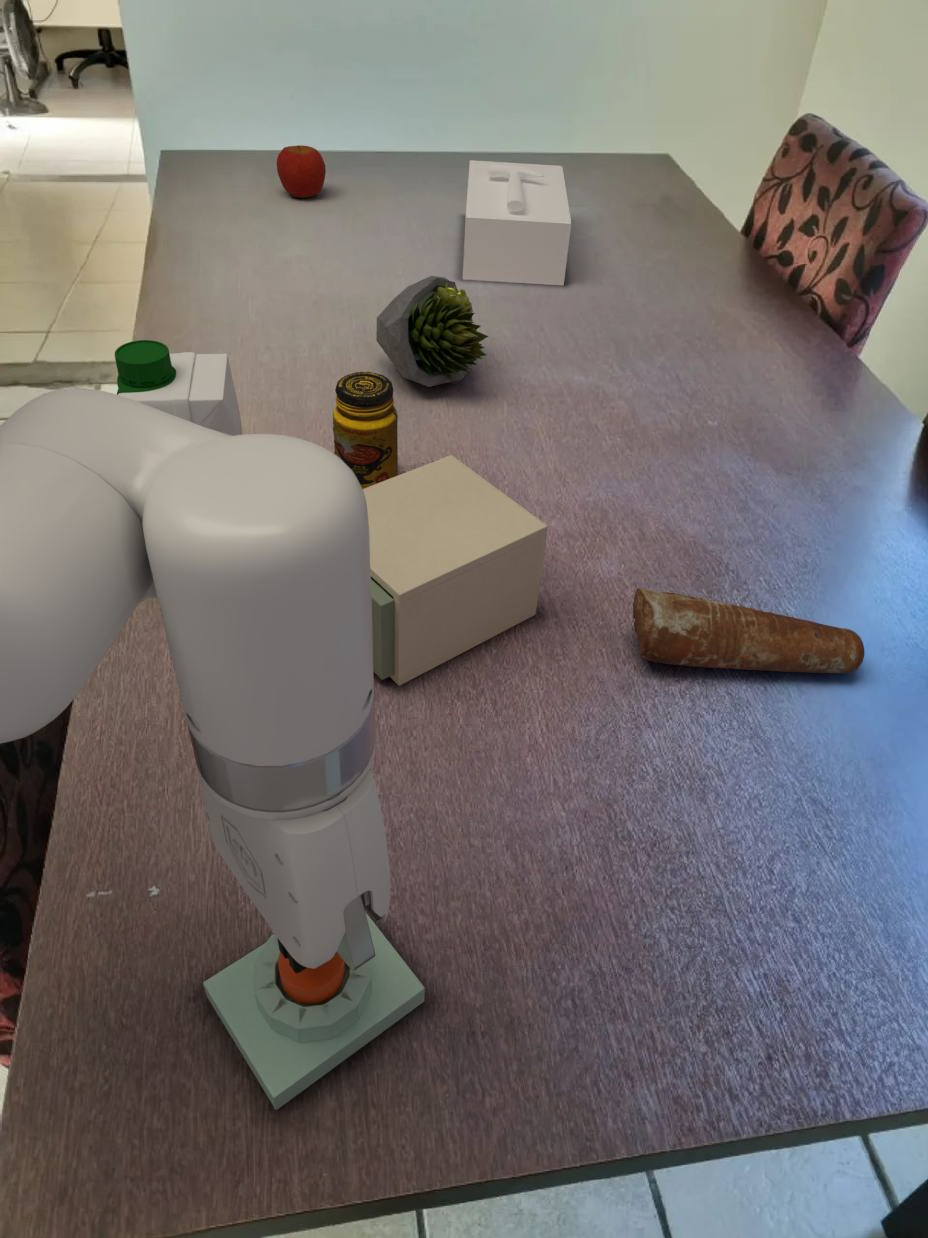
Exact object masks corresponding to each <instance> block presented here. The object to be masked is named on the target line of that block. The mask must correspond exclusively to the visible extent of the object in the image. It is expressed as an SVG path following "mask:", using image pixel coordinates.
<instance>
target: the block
mask: <svg viewBox="0 0 928 1238" xmlns="http://www.w3.org/2000/svg"><path fill="white" fill-rule="evenodd" d="M366 916H367V921H368V925H369V929H370V933H371V938H372V942H373V946H374V950H375V957H374V958H372V959H371V960H369V961H368V962H366V963H365V964H363V965H362V966H361V967H359V968H358V969H356V970H355V971H352V970H351V969H350V968H349V966H348V965H347V964H346V963H345V962H344V965H345V975H344V980H343V982H342V985H341V986H340V988H339V990H338V991H337V992H336V993H335V994H334V995H333V996H332V997H330V998H329V999H327V1000H325V1001H323V1002H320V1003H316V1004H304V1003H300V1002H297V1001H295V1000H293V999H292V998H290V997H289V996H288V995H287V993H286V992H285V991H284V989H283V986H282V983H281V978H280V972H279V966H278V958H279V954H280V950H279V945H278V939H277V936H276V935H275V933H273V934H272V935H271V936H270V937H269V938H268V939H267V941H266V942H264V943H263V944H261V945H260V946H259V947H256V948H255V949H253V950H252V951H251V952H249V953H247V954H246V955H243V956H242V957H240V958H239V959H238V960H236V961H234V962H233V963H232V964H230V965H228V966H227V967H225V968H223V969H222V970H220V971H218V972H217V973H215V974H214V975H213V976H211V977H209V978H208V979H206V980H204V981H203V982H202V985H203V988H204V993H205V995H206V998H207V999H208V1002H210V1004H211V1006H212V1008H213V1009H214V1011H215V1012H216V1014H217V1016H218V1017H219V1019H220V1021H221V1023H222V1024H223V1026H224V1027H225V1029H226V1031H227V1033H228V1034H229V1035H230V1037H231V1040H233V1042H234V1044H235V1045H236V1047H237V1049H238V1050H239V1051H240V1053H241V1056H242V1057H243V1059H244V1060H245V1062H246V1063H247V1066H248V1067H249V1069H250V1070H251V1072H252V1074H253V1075H254V1077H255V1078H256V1080H257V1081H258V1083H259V1085H260V1086H261V1088H262V1090H263V1091H264V1094H265V1095H266V1097H267V1098H268V1099H269V1102H270V1103H271V1105H272V1106H273V1108H274V1110H275V1111H278V1110H279V1109H280V1108H281V1107H283V1106H284V1105H286V1104H287V1103H289V1102H290V1101H291V1100H293V1099H294V1098H295V1097H296V1096H298V1095H299V1094H301V1093H302V1092H304V1090H306V1089H307V1088H309V1087H310V1086H311V1085H313V1084H314V1083H316V1082H317V1081H318V1080H319V1079H321V1078H322V1077H323V1076H325V1075H326V1074H328V1073H329V1072H330V1071H332V1070H333V1069H334V1068H336V1067H337V1066H339V1065H340V1064H341V1063H343V1062H344V1061H345V1060H347V1059H348V1058H349V1057H351V1056H353V1055H354V1054H355V1053H357V1051H359V1050H361V1049H362V1048H363V1047H365V1046H366V1045H367V1044H368V1043H371V1041H373V1040H374V1039H375V1038H377V1037H378V1036H379V1035H381V1034H382V1033H383V1032H384V1031H387V1030H388V1029H389V1028H390V1027H392V1026H393V1025H395V1024H396V1023H397V1022H399V1021H400V1020H401V1019H403V1018H404V1017H405V1016H406V1015H408V1014H409V1013H411V1012H412V1011H414V1010H415V1009H416V1008H417V1007H418V1006H420V1005H422V1004H423V1003H425V996H426V995H425V994H426V993H425V992H426V987H425V986H424V985H423V983H422V982H421V981H420V979H419V978H418V977H417V976H416V975H415V973H414V972H413V971H412V969H411V968H410V967H409V965H408V964H407V963H406V962H405V960H404V958H402V956H401V955H400V954H399V952H397V950H396V949H395V948H394V946H393V945H392V943H390V940H388V938H386V936H385V935H384V934H383V932H382V931H381V929H380V928H379V927H378V926H377V924H375V922H374V920H372V917H371V916H370V915H369V913H367V912H366Z"/></svg>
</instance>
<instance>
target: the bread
mask: <svg viewBox="0 0 928 1238" xmlns="http://www.w3.org/2000/svg"><path fill="white" fill-rule="evenodd" d="M632 618H633V619H634V622H633V629H634V631H635V632H636V634H637V637H638V640H639V651H640V652H639V653H640V654H639V655H640V658H642V659H643V660H646V661H649V662H654V663H658V664H659V663H660V664H666V665H673V666H685V667H695V668H706V669H707V668H709V669H734V670H743V671H745V670H747V671H769V672H784V673H814V674H850V673H851V674H852V673H854V672H855V671H857V670H858V669H859V668H861V666H862V663H863V662H864V659H865V645H864V642H863V640H862V638H861V637H860V635H858V633H857V632H855V631H853V630H852V629H849V628H844V627H837V626H833V625H828V624H823V623H820V622H816V621H812V620H807V619H803V618H797V617H794V616H787V615H784V614H778V613H775V612H769V611H764V610H759V609H755V608H751V607H746V606H742V605H741V606H740V605H735V604H732V603H731V604H730V603H726V602H722V601H717V600H711V599H706V598H701V597H695V596H691V595H684V594H681V593H675V592H667V591H657V590H651V589H647V588H640V587H639V588H636V590H635V593H634V597H633V602H632Z"/></svg>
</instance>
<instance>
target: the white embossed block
mask: <svg viewBox="0 0 928 1238" xmlns="http://www.w3.org/2000/svg"><path fill="white" fill-rule="evenodd" d="M563 169H564V168H563V165H555V164H554V165H553V164H539V163H538V164H536V163H520V162H504V161H487V160H472V159H471V160H469V166H468V177H467V179H468V180H467V191H466V194H467V195H466V206H465V207H466V208H465V223H464V224H465V225H464V243H463V262H462V263H463V266H462V280H463V281H478V282H479V281H480V282H481V281H482V282H494V283H495V282H497V283H512V284H514V283H515V284H529V285H546V286H563V287H564V284H565V278H566V270H567V263H568V255H569V254H568V253H569V247H570V238H571V230H572V219H571V213H570V206H569V199H568V195H567V188H566V182H565V175H564V170H563Z"/></svg>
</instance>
